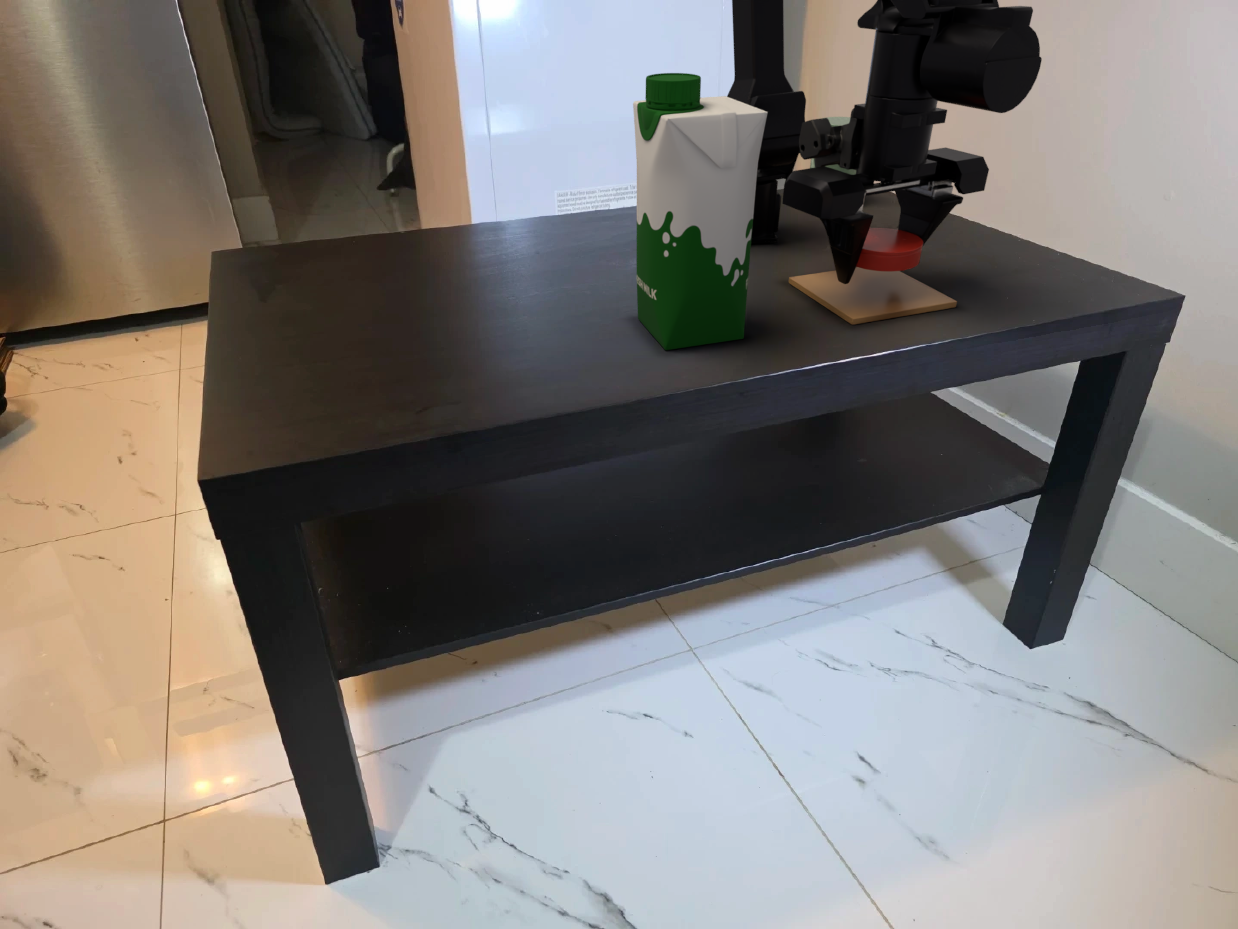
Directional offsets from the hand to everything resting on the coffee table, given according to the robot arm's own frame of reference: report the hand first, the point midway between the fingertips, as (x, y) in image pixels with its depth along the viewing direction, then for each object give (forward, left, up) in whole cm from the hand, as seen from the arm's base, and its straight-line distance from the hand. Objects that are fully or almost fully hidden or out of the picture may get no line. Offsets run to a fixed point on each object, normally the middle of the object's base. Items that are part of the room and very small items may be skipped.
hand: (872, 276), depth 75 cm
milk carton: (-18, -6, -2) cm, 19 cm away
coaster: (0, 0, -2) cm, 2 cm away
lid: (0, -1, +3) cm, 3 cm away
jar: (+6, +32, -2) cm, 33 cm away
